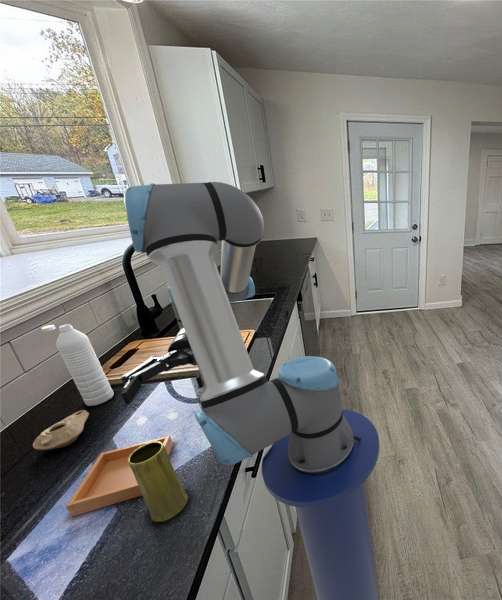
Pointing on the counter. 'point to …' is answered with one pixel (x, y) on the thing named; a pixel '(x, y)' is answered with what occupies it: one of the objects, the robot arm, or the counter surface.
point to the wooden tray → (109, 480)
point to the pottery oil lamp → (62, 432)
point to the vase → (157, 481)
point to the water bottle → (82, 365)
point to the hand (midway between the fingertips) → (163, 390)
